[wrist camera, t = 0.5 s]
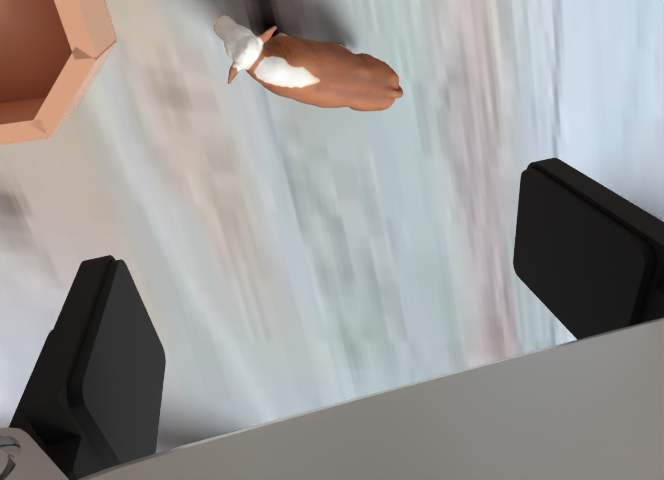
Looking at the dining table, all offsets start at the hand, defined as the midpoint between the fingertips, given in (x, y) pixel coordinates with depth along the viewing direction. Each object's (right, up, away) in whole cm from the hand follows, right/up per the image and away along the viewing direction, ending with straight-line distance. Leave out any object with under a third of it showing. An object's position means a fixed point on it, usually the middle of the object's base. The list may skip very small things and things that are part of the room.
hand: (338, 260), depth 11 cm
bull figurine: (-3, +15, +26) cm, 30 cm away
